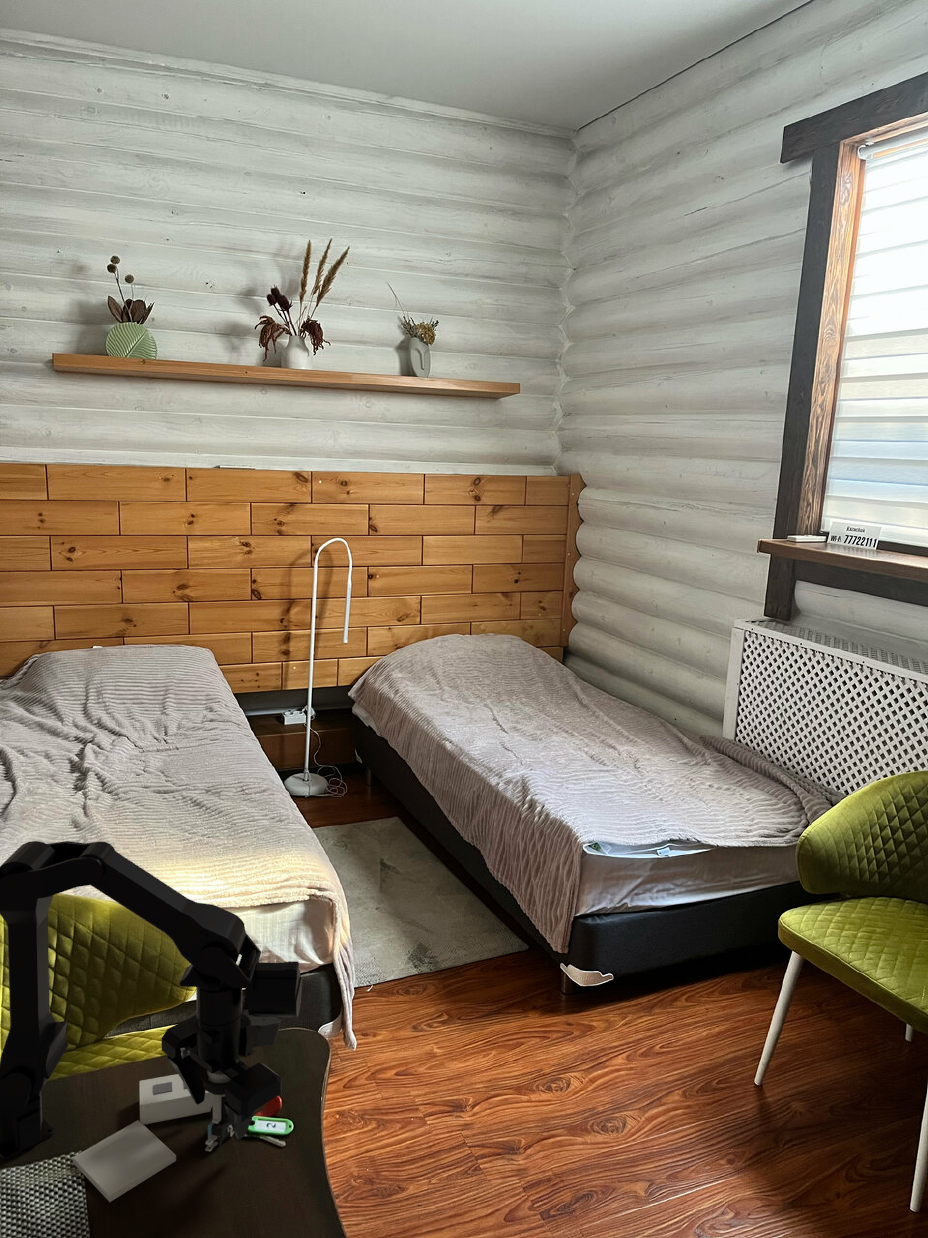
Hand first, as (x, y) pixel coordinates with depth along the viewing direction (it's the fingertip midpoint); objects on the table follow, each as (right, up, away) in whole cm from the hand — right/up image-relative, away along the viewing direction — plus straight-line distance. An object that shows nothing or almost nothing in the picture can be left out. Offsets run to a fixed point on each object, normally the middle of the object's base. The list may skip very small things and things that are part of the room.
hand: (220, 1119), depth 121 cm
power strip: (-5, -1, +6) cm, 8 cm away
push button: (0, -3, +1) cm, 3 cm away
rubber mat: (-11, -3, -5) cm, 12 cm away
